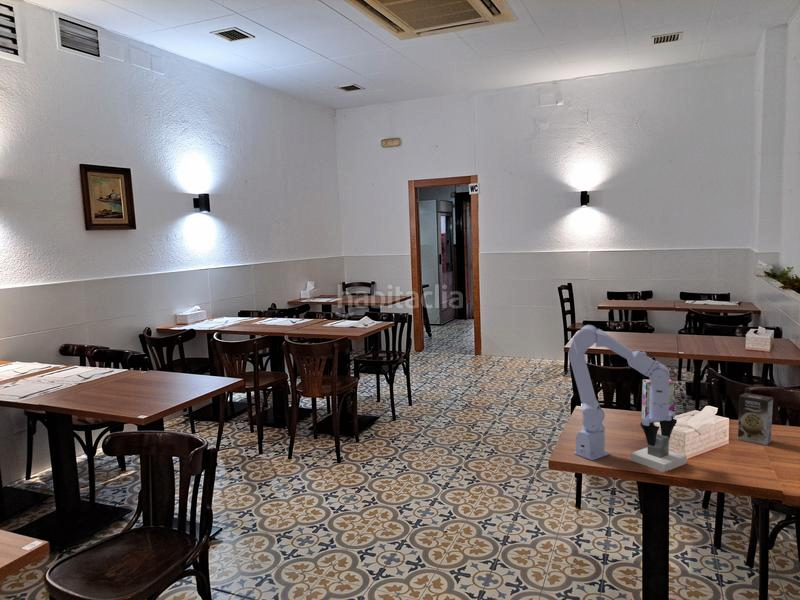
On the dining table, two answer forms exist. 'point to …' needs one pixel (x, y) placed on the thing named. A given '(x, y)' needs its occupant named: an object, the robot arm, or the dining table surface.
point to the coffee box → (755, 418)
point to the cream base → (659, 460)
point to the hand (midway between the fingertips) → (658, 442)
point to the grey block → (659, 446)
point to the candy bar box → (647, 396)
